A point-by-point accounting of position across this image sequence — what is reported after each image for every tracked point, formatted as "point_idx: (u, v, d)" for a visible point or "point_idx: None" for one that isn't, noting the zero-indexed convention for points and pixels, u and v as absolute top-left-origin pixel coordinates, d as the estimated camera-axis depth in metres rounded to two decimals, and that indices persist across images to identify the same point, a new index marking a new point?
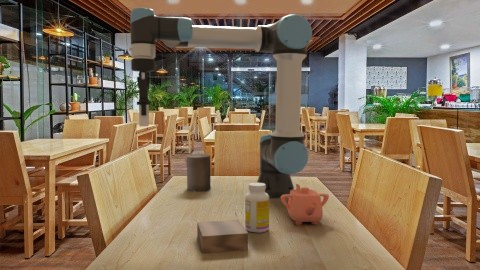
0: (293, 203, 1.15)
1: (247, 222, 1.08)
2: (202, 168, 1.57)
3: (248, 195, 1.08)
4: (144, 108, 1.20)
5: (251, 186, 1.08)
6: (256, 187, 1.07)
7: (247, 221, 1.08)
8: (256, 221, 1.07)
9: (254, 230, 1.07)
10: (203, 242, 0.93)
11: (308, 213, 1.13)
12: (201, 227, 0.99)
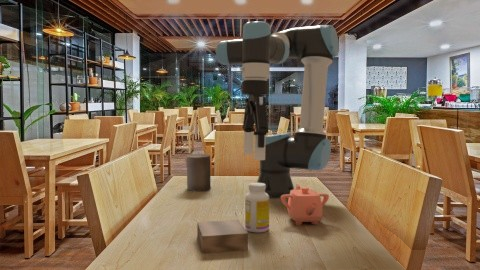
0: (293, 203, 1.15)
1: (247, 222, 1.08)
2: (202, 168, 1.57)
3: (248, 195, 1.08)
4: (262, 139, 1.02)
5: (251, 186, 1.08)
6: (256, 187, 1.07)
7: (247, 221, 1.08)
8: (256, 221, 1.07)
9: (254, 230, 1.07)
10: (203, 242, 0.93)
11: (308, 213, 1.13)
12: (201, 227, 0.99)
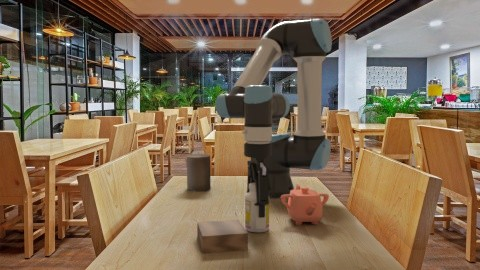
0: (293, 203, 1.15)
1: (247, 222, 1.08)
2: (202, 168, 1.57)
3: (248, 195, 1.08)
4: (263, 209, 1.05)
5: (251, 186, 1.08)
6: None
7: (247, 221, 1.08)
8: None
9: (254, 230, 1.07)
10: (203, 242, 0.93)
11: (308, 213, 1.13)
12: (201, 227, 0.99)
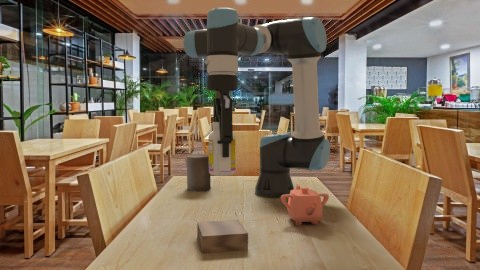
0: (293, 203, 1.15)
1: (210, 164, 0.96)
2: (202, 168, 1.57)
3: (211, 134, 0.96)
4: (227, 148, 0.93)
5: (214, 123, 0.96)
6: None
7: (210, 163, 0.96)
8: None
9: (217, 173, 0.95)
10: (203, 242, 0.93)
11: (308, 213, 1.13)
12: (201, 227, 0.99)
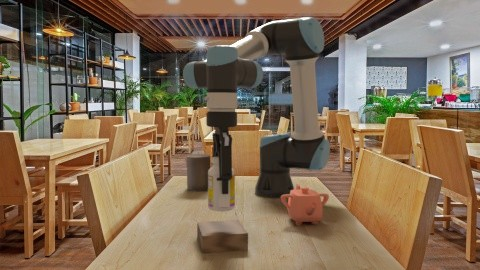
0: (293, 203, 1.15)
1: (209, 200, 0.97)
2: (202, 168, 1.57)
3: (211, 169, 0.97)
4: (226, 185, 0.93)
5: (214, 159, 0.96)
6: None
7: (210, 198, 0.97)
8: None
9: (217, 208, 0.96)
10: (203, 242, 0.93)
11: (308, 213, 1.13)
12: (201, 227, 0.99)
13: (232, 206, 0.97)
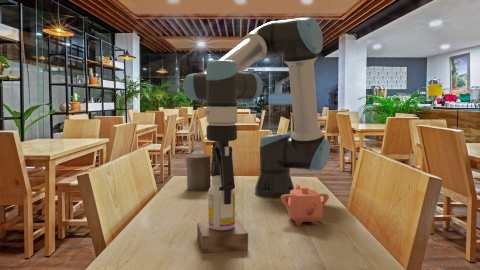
0: (293, 203, 1.15)
1: (210, 219, 0.97)
2: (202, 168, 1.57)
3: (211, 189, 0.97)
4: (228, 195, 0.91)
5: (214, 179, 0.97)
6: (219, 180, 0.96)
7: (210, 217, 0.97)
8: (219, 218, 0.96)
9: (217, 228, 0.96)
10: (203, 242, 0.93)
11: (308, 213, 1.13)
12: (201, 227, 0.99)
13: (232, 225, 0.98)
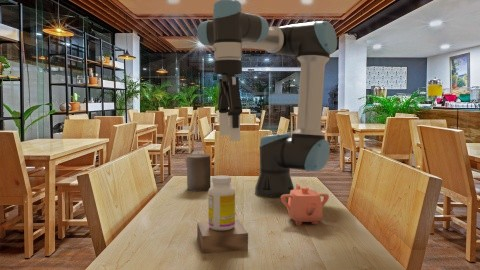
0: (293, 203, 1.15)
1: (210, 219, 0.97)
2: (202, 168, 1.57)
3: (211, 189, 0.97)
4: (236, 119, 1.01)
5: (214, 179, 0.97)
6: (219, 180, 0.96)
7: (210, 218, 0.97)
8: (219, 218, 0.96)
9: (217, 228, 0.96)
10: (203, 242, 0.93)
11: (308, 213, 1.13)
12: (201, 227, 0.99)
13: (232, 225, 0.98)
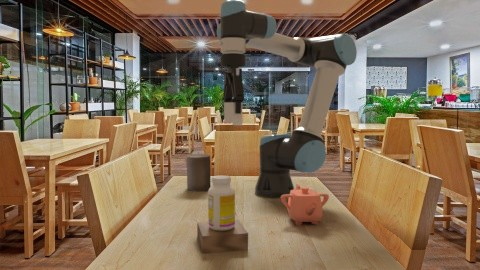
0: (293, 203, 1.15)
1: (210, 219, 0.97)
2: (202, 168, 1.57)
3: (211, 189, 0.97)
4: (239, 106, 1.13)
5: (214, 179, 0.97)
6: (219, 180, 0.96)
7: (210, 218, 0.97)
8: (219, 218, 0.96)
9: (217, 228, 0.96)
10: (203, 242, 0.93)
11: (308, 213, 1.13)
12: (201, 227, 0.99)
13: (232, 225, 0.98)
